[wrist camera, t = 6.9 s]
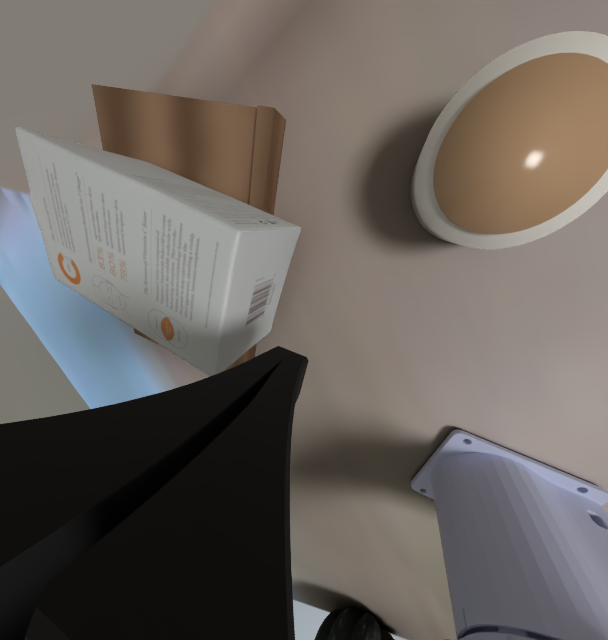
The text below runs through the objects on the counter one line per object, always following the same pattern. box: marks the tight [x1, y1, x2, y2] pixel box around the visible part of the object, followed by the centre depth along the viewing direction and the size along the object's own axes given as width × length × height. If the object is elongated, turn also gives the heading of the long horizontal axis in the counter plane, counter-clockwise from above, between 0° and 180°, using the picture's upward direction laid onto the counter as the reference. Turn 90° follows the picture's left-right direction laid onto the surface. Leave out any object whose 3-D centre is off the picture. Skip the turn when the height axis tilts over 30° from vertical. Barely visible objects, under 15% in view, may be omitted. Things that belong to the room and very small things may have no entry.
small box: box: [16, 127, 301, 376], centre depth 14 cm, size 8×6×13 cm
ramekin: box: [411, 31, 608, 249], centre depth 9 cm, size 6×6×4 cm
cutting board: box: [92, 85, 286, 371], centre depth 18 cm, size 14×20×2 cm
